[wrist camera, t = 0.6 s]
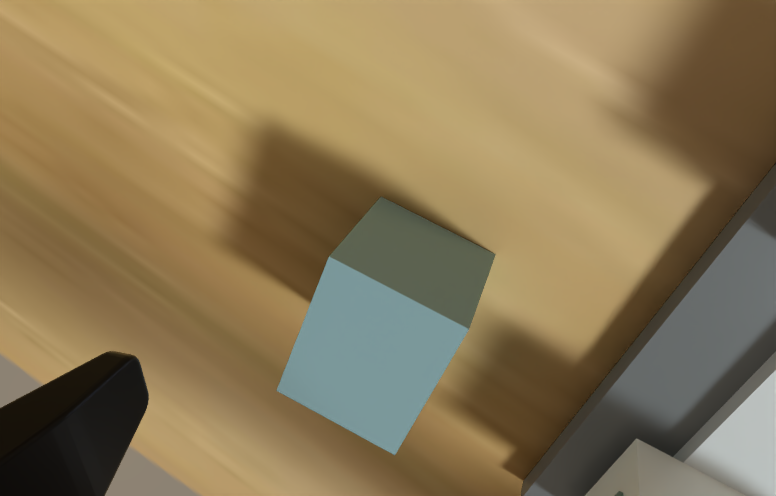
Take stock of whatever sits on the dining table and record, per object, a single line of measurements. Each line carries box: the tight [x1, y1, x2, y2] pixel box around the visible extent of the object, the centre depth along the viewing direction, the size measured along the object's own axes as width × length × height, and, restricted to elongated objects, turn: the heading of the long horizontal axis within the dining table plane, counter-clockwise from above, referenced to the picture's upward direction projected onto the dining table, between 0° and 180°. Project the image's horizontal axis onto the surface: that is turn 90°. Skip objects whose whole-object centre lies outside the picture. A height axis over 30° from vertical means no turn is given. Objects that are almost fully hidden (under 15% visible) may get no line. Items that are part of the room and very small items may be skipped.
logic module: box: [277, 197, 496, 455], centre depth 22 cm, size 6×5×5 cm
